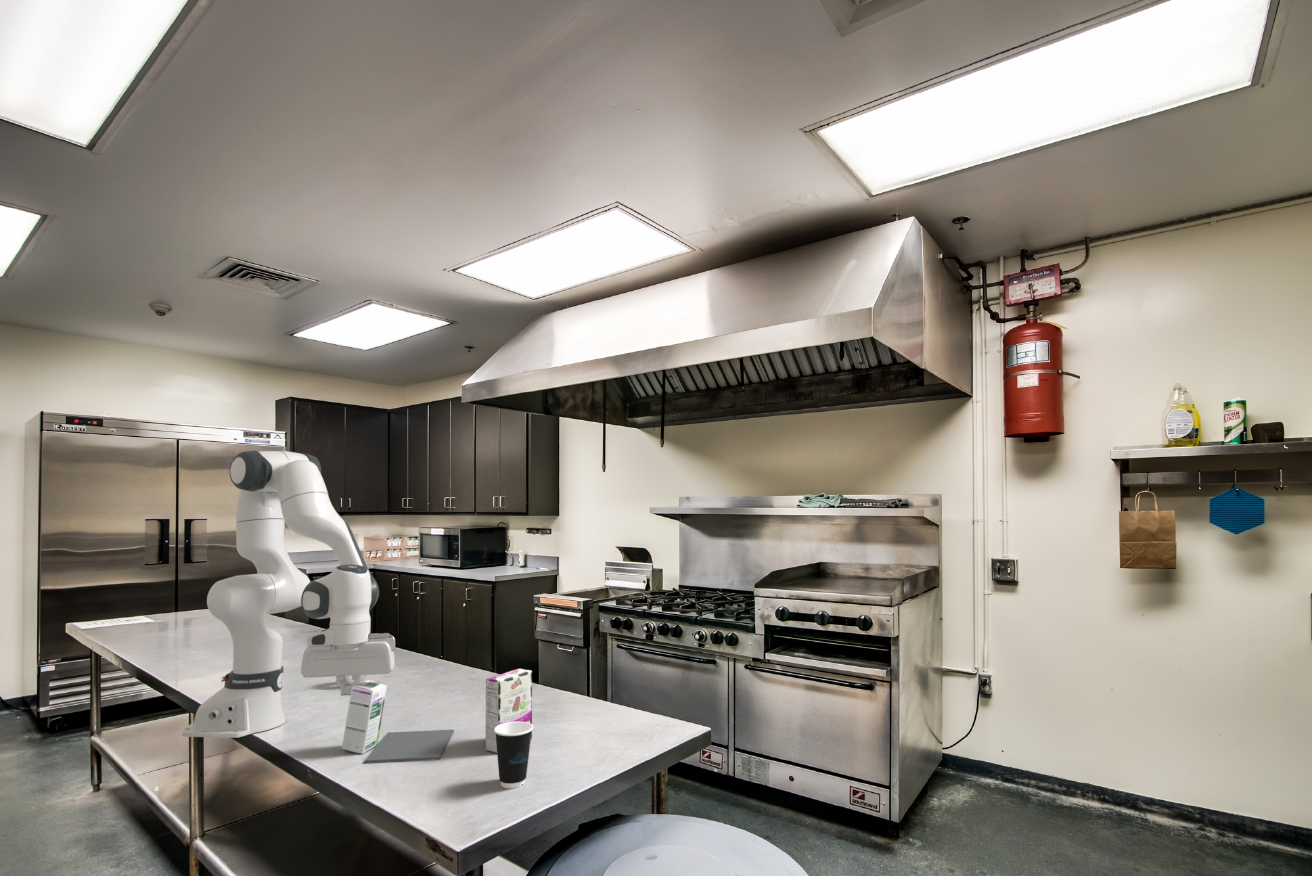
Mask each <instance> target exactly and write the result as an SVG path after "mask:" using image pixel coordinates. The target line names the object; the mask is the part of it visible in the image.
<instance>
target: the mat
mask: <svg viewBox="0 0 1312 876" xmlns="http://www.w3.org/2000/svg"><path fill="white" fill-rule="evenodd" d="M454 733H455V729H438V730H437V729H436V730H414V731H413V730H412V731H394V732H393V731H391V732H390V731H389V732H386V734H385V735H384V737H383V738H382V739H381V740H380V742H378V745H377V746H375V748H374V749H373V750H372V751H371V752H370V753H369V755H368V756H367V757H366V758H365V760H364V764H376V763H378V764H379V763H380V764H381V763H396V762H399V763H401V762H416V761H418V760H420V761H432V760H431V759H441V758H440V757H442V756H443V754H442V753H444V752H445V750H446V749H447V746H448V745H449V742H450V740H451V738H452V736H453V735H454ZM441 755H442V756H441ZM418 762H419V761H418Z"/></svg>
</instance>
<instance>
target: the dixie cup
mask: <svg viewBox="0 0 1312 876" xmlns="http://www.w3.org/2000/svg"><path fill="white" fill-rule="evenodd" d="M533 730H534V725H533V723H532V724H530V723H527V722H507V723H503V724H500V725H498V726H496V727H495V729H494V732H495V733H496V745H497V753H496V754H497V765H498V766H497V767H498V768H497V769H498V778H499V779H498V780H499V781H500V786H501V787H502V788H503V789H516V787H517V788H519V787H518V786H520V787H522V786H523V785H524V784H525V783H524V782H525V781H526V779H527V775H528V774H527V773H528V765H529V757H530V756H529V755H530V750H531V749H530V748H531V741H532V739H531V733H532V734H533ZM522 784H523V785H522ZM521 785H522V786H521Z"/></svg>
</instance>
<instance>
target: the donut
mask: <svg viewBox="0 0 1312 876" xmlns="http://www.w3.org/2000/svg"><path fill="white" fill-rule="evenodd" d="M366 677H367V675H361V678H360V680H359V682H358V683H357V685H358V684H360V683H362V681H363V682H364V679H366ZM343 681H344V683H345V685H346V686H351V685H352V684H353V682H354V680H352V676H345V679H343Z"/></svg>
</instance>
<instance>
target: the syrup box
mask: <svg viewBox="0 0 1312 876" xmlns="http://www.w3.org/2000/svg"><path fill="white" fill-rule="evenodd" d="M387 688H388V684H387V683H383V682H380V681H375V680H368V679H367V680H365V681H363V682H360V683H359V684H357V685H356V686H353V687H352V689H351V695H349V700H348V708H347V709H348V710H347V715H346V719H345V726H344V731H343V732H344V733H343V739H342V744H341V749H342V750H346V751H349V752H352V753H355V754H361V755H364V754H365V753H366V752H368V751H369V750H371V749H373V748H374V747H375V748H376V746H377V745H378V744H379V738H380V731H381V726H382V720H383V719H382V718H383V715H384V707H385V700H386V694H387Z"/></svg>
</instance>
